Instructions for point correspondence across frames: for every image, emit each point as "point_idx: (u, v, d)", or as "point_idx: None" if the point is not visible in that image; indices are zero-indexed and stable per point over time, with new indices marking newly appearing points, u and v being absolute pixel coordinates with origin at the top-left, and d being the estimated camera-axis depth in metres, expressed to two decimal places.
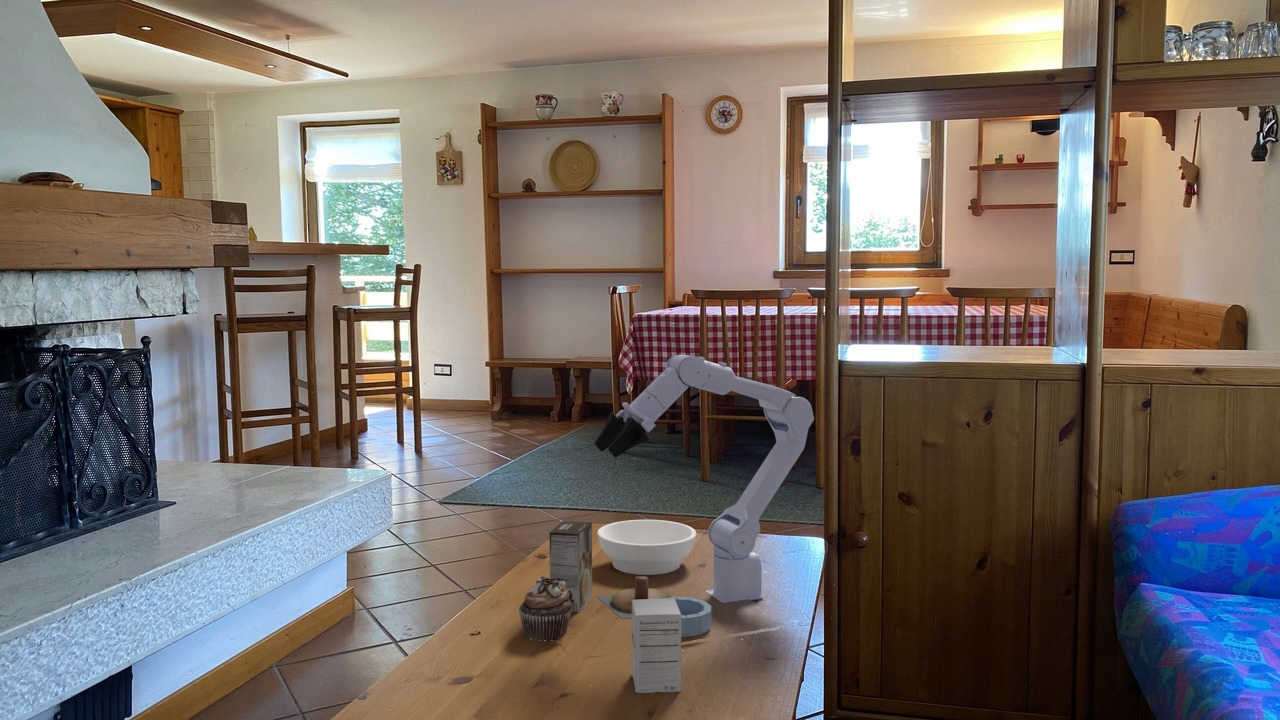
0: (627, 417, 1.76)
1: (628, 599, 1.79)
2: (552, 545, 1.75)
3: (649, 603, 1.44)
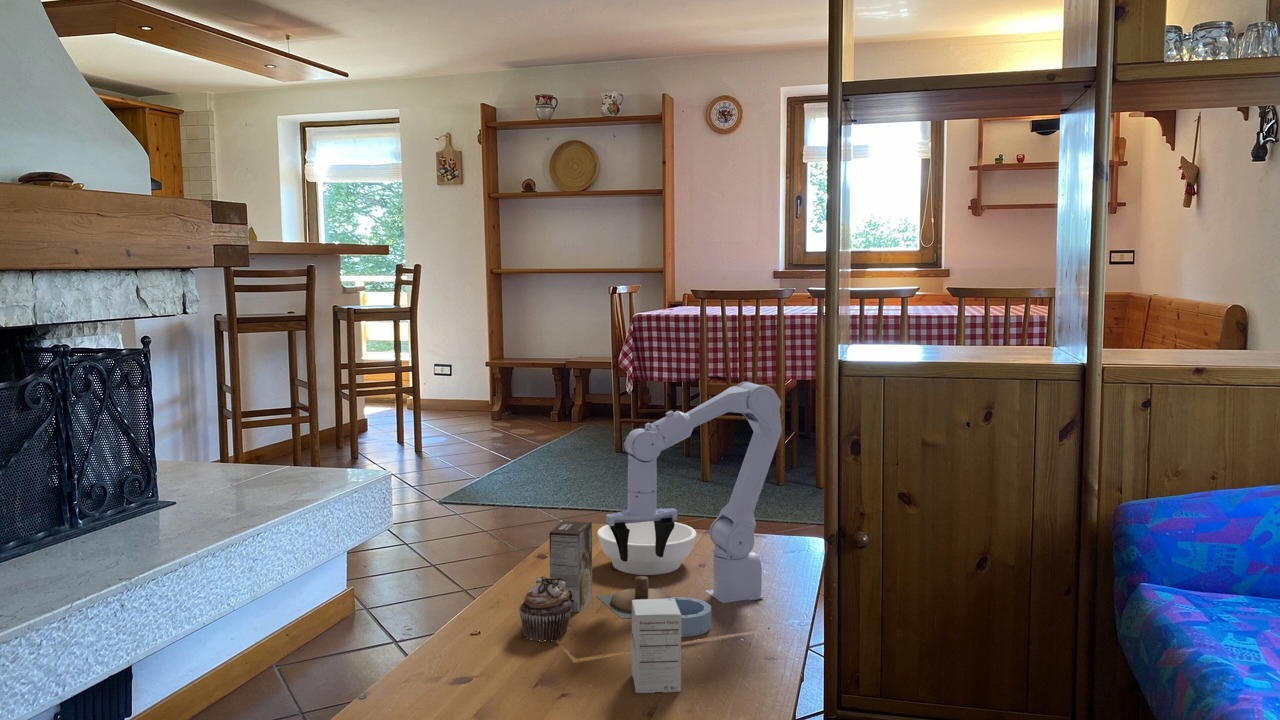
0: None
1: (628, 599, 1.79)
2: (552, 545, 1.75)
3: (649, 603, 1.44)
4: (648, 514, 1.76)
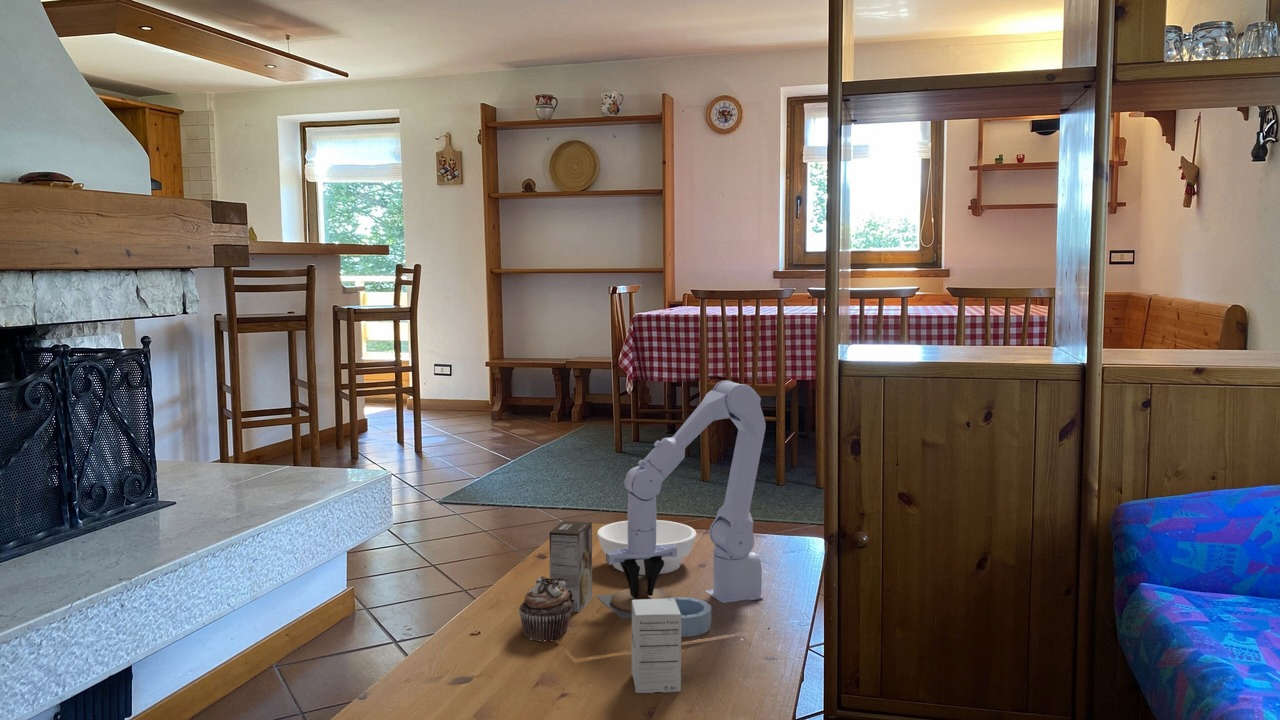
0: None
1: (628, 599, 1.79)
2: (552, 545, 1.75)
3: (649, 603, 1.44)
4: (648, 552, 1.77)
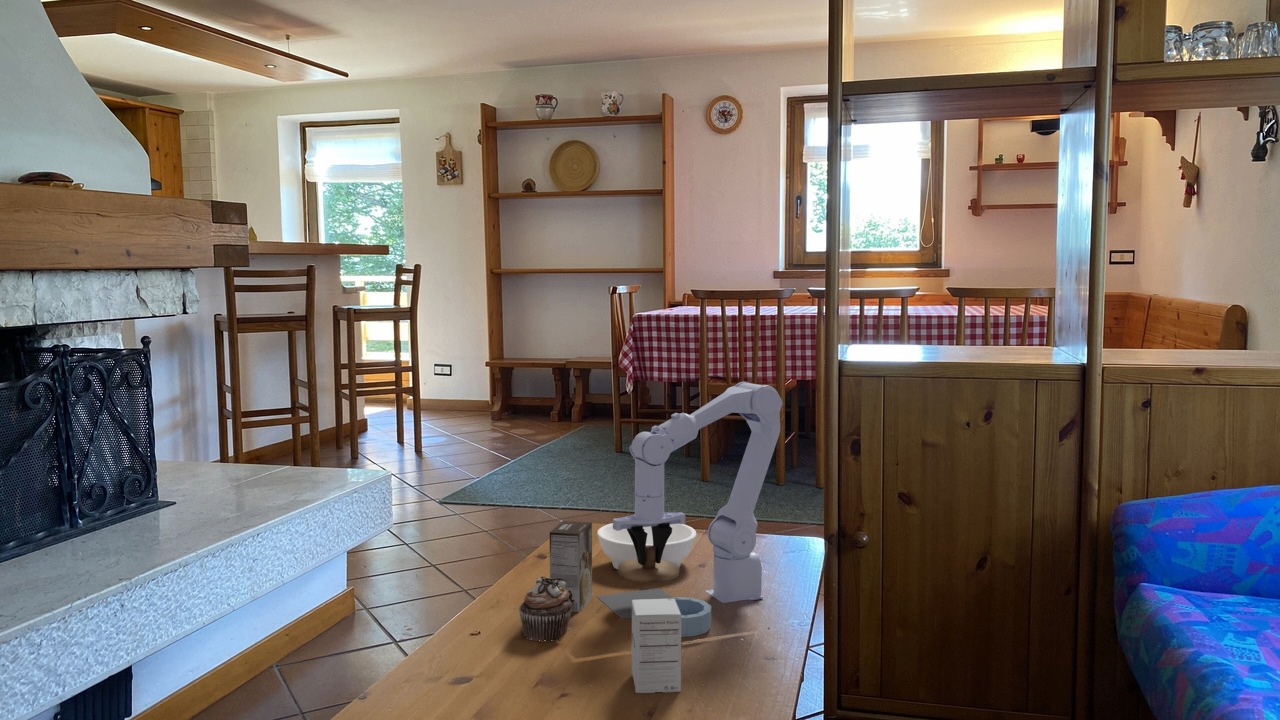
0: None
1: (635, 568, 1.76)
2: (552, 545, 1.75)
3: (649, 603, 1.44)
4: (655, 518, 1.74)
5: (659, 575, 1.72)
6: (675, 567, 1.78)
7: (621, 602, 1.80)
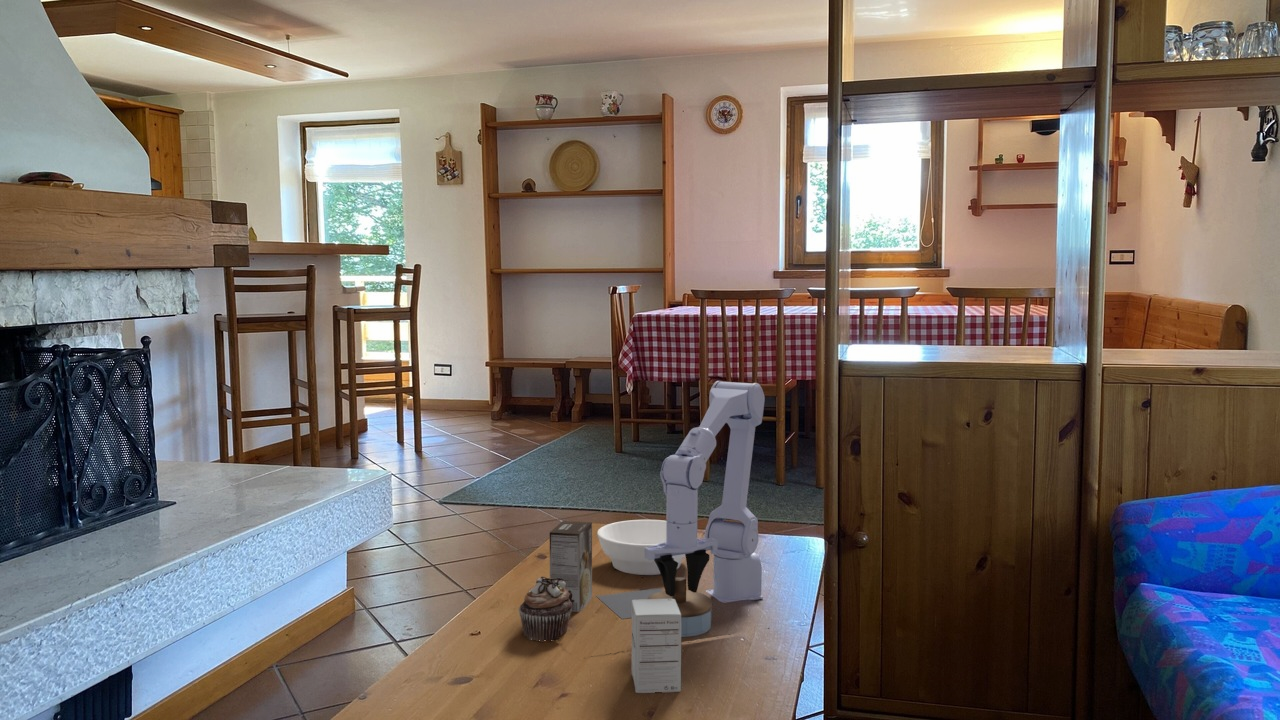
0: None
1: None
2: (552, 545, 1.75)
3: (649, 603, 1.44)
4: (690, 546, 1.64)
5: (694, 609, 1.64)
6: (706, 598, 1.69)
7: (621, 602, 1.80)
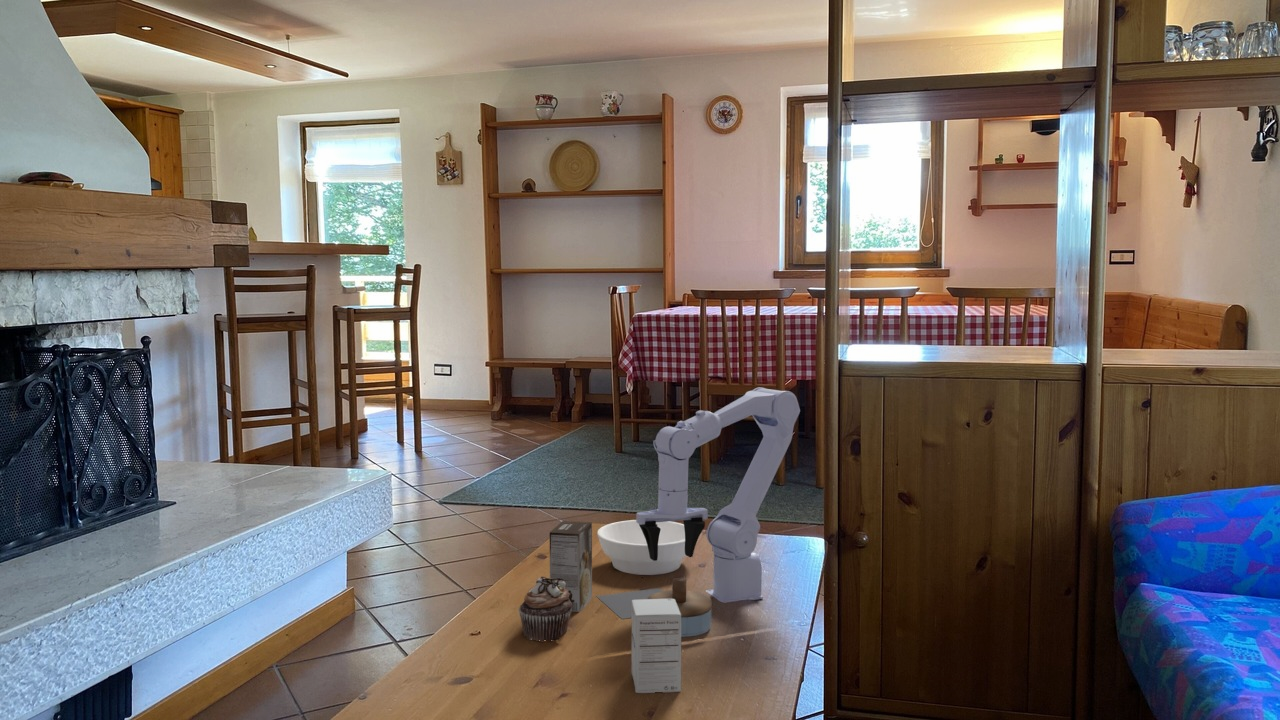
0: None
1: None
2: (552, 545, 1.75)
3: (649, 603, 1.44)
4: (679, 513, 1.74)
5: (694, 609, 1.64)
6: (706, 598, 1.69)
7: (621, 602, 1.80)
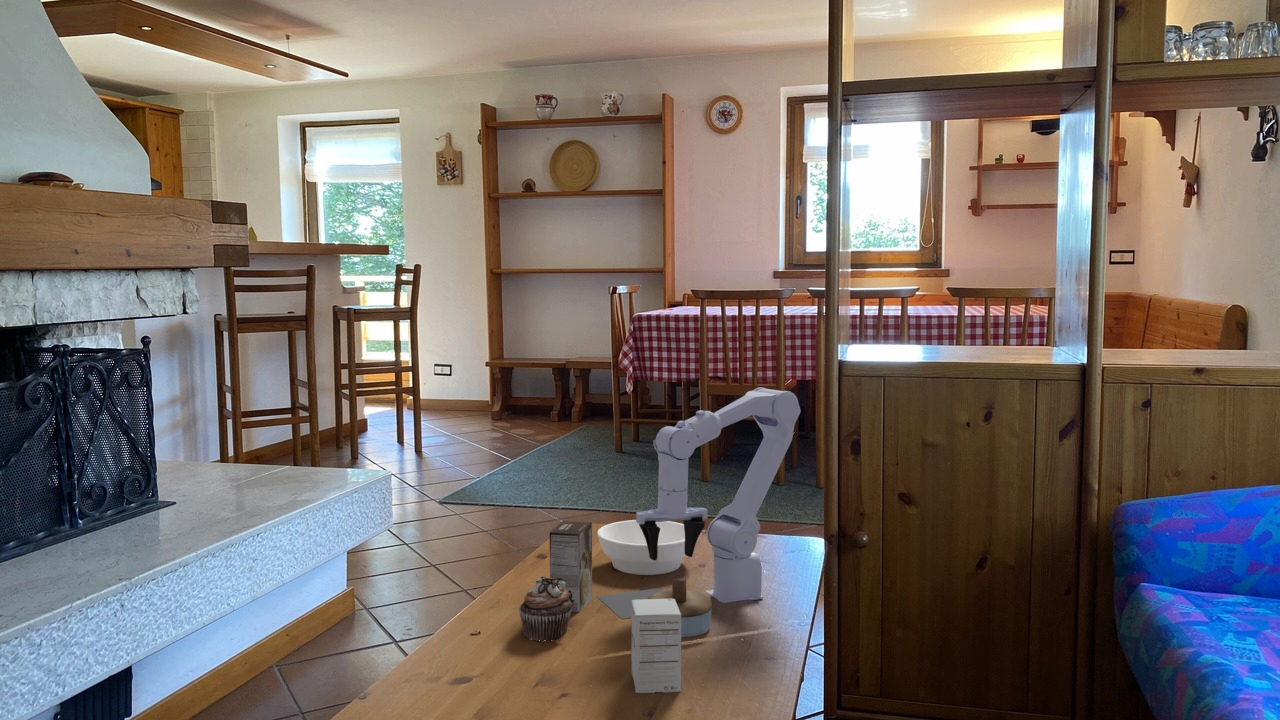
0: None
1: None
2: (552, 545, 1.75)
3: (649, 603, 1.44)
4: (679, 513, 1.74)
5: (694, 609, 1.64)
6: (706, 598, 1.69)
7: (621, 602, 1.80)
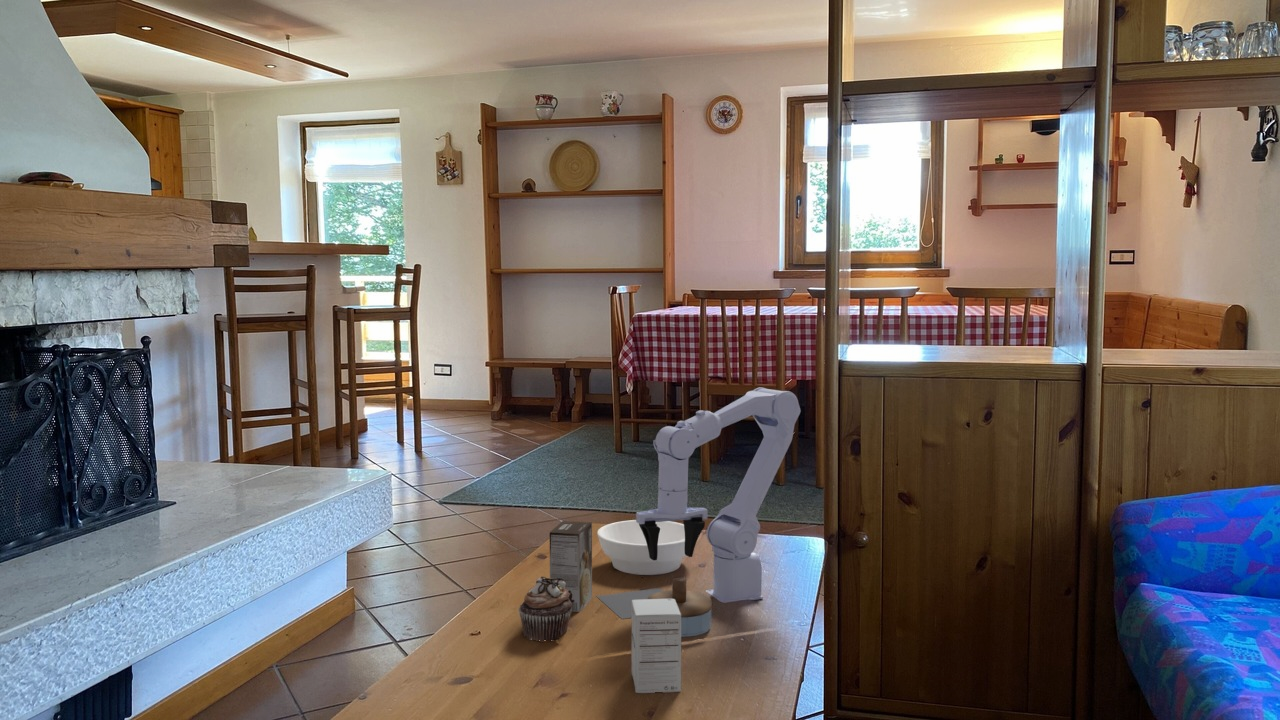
0: None
1: None
2: (552, 545, 1.75)
3: (649, 603, 1.44)
4: (679, 513, 1.74)
5: (694, 609, 1.64)
6: (706, 598, 1.69)
7: (621, 602, 1.80)
